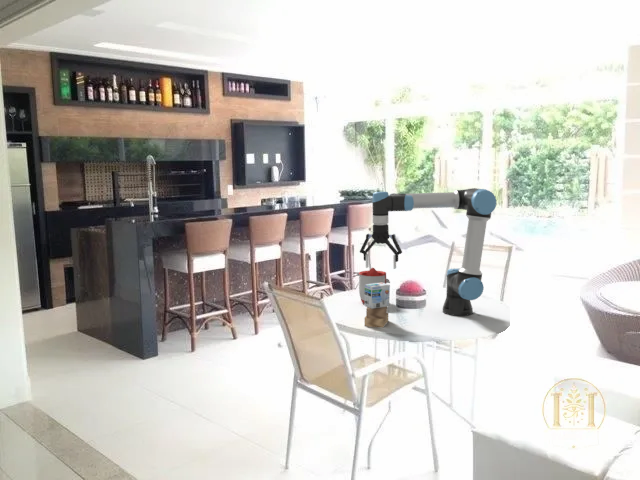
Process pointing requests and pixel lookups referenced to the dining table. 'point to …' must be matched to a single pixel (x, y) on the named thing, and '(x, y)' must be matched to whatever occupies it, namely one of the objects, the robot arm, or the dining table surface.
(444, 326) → the dining table surface
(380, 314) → the tower top
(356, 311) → the dining table surface
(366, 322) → the tower base
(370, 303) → the light bulb box
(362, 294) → the citrus juicer
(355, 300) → the dining table surface
